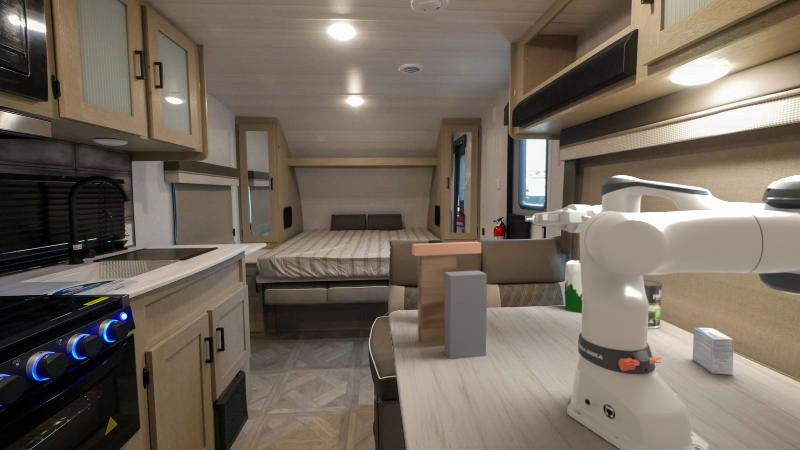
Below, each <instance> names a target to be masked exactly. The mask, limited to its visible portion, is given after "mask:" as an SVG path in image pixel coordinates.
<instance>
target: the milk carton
mask: <svg viewBox="0 0 800 450" xmlns="http://www.w3.org/2000/svg"><path fill="white" fill-rule="evenodd" d="M564 270H565V272H564V305H565V311H569V312H573V313H574V312H575V313H579V314H582V283H581V267H580V260H578V259H577V260H568V261H567V262H566V263H565V268H564Z"/></svg>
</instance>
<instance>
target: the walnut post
mask: <svg viewBox="0 0 800 450" xmlns="http://www.w3.org/2000/svg"><path fill="white" fill-rule="evenodd" d="M457 255H458V254H447V255H423V256H417V316H418V317H417V339H418V340H417V341H418V342H419V344H420V346H421V347H422V348H431V347H439V346H440V347H441V346H444V272H458V271H457V263H458V262H457Z"/></svg>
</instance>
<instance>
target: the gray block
mask: <svg viewBox="0 0 800 450" xmlns="http://www.w3.org/2000/svg"><path fill="white" fill-rule="evenodd" d="M487 276H488V274H487V273H485V272H484V271H480V270H464V271H463V270H462V271H461V270H460V271H459V270H458V271H457V272H444V345H443V348H444V349H443V352H444V353H445V355H447V357H448V358H449V359H450V360H455V359H464V358H475V357H485V356H487V305H488V304H487V296H488V295H487V293H488V292H487V290H488V288H487V287H488V285H487V284H488V281H487V280H488V277H487Z"/></svg>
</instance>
